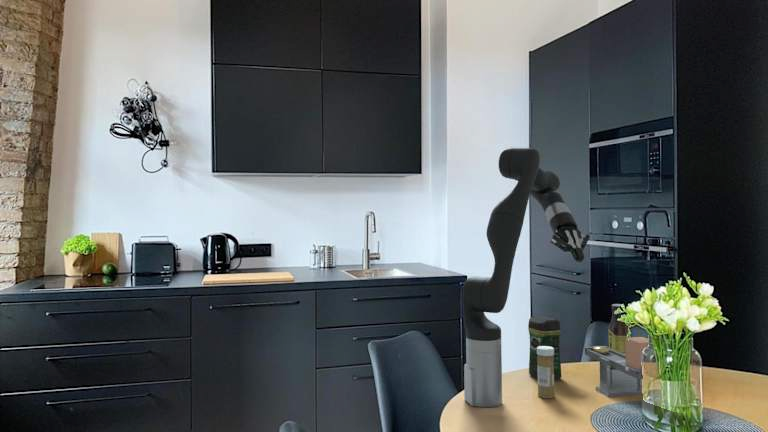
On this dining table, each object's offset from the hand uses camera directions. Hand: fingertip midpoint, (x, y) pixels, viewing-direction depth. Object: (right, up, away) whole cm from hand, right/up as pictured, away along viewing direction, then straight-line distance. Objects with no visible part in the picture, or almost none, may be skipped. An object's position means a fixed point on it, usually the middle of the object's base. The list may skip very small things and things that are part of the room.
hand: (580, 260), depth 170 cm
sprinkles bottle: (-15, -36, -16) cm, 42 cm away
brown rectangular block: (+8, -27, -22) cm, 36 cm away
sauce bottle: (+18, -36, +15) cm, 43 cm away
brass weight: (+5, -27, -3) cm, 28 cm away
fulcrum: (+7, -36, -13) cm, 39 cm away
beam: (+7, -28, -13) cm, 31 cm away
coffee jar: (-10, -36, +2) cm, 38 cm away
